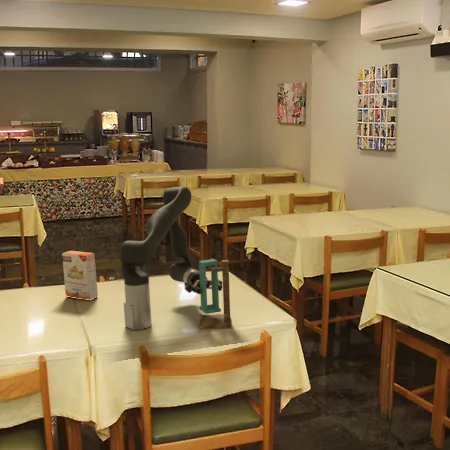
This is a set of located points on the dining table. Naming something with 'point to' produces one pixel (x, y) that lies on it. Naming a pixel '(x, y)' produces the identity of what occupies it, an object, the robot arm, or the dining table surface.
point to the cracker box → (80, 274)
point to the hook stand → (223, 319)
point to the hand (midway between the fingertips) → (210, 290)
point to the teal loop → (215, 297)
